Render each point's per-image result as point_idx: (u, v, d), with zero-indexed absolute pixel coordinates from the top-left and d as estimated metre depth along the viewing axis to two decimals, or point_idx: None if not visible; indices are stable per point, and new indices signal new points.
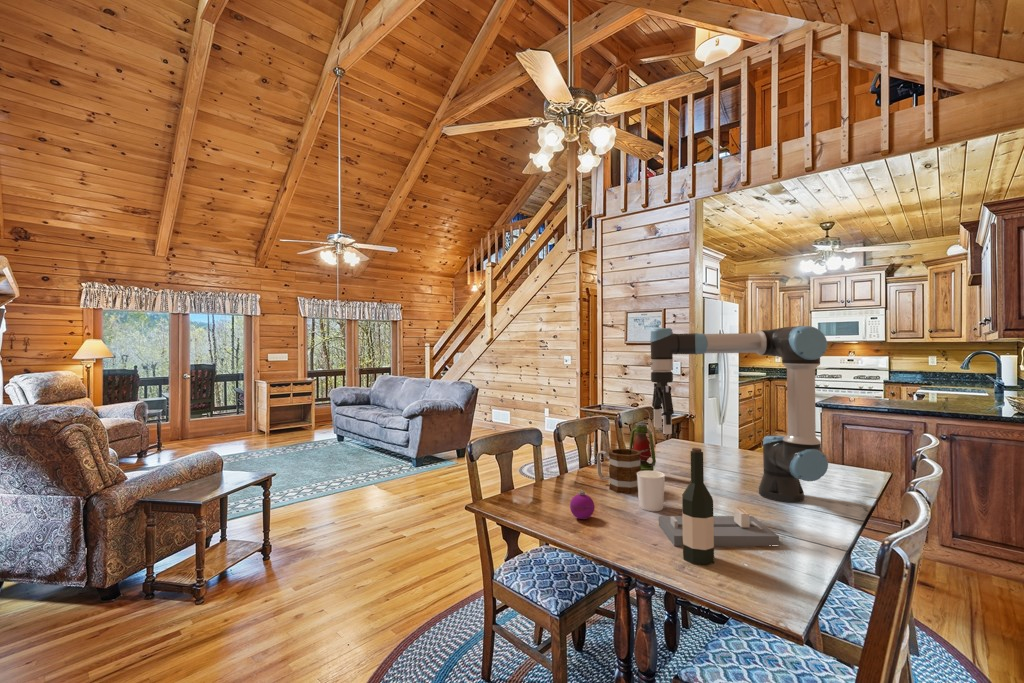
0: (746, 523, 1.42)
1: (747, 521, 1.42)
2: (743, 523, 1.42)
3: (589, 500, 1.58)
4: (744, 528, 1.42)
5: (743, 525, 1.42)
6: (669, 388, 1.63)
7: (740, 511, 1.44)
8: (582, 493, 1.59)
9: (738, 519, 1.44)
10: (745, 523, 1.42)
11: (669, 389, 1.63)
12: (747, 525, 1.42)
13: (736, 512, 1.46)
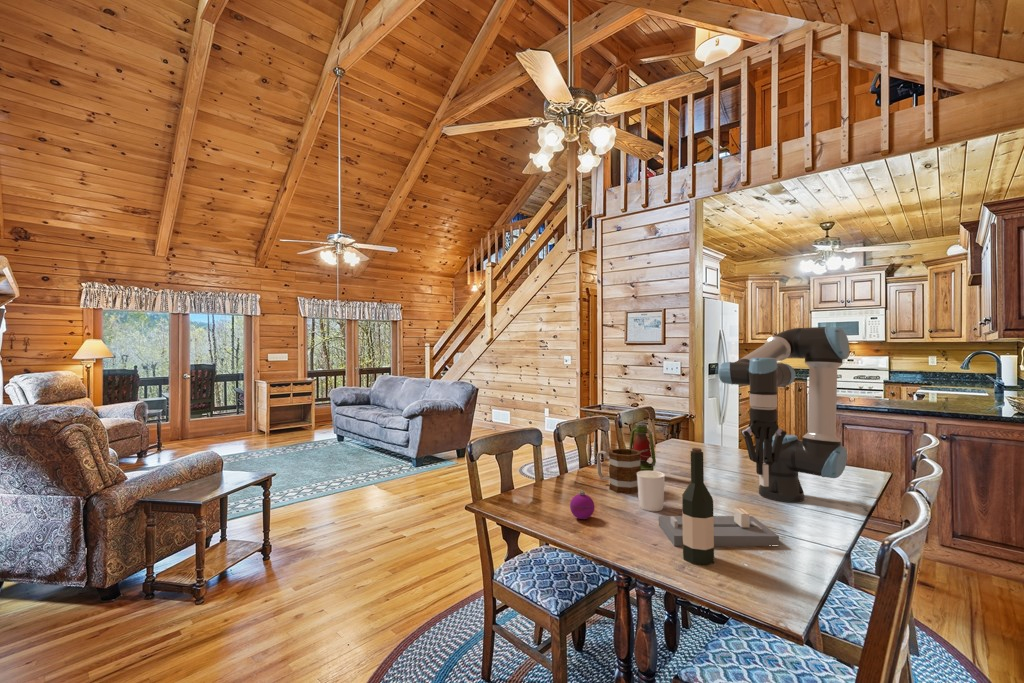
0: (746, 523, 1.42)
1: (747, 521, 1.42)
2: (743, 523, 1.42)
3: (589, 500, 1.58)
4: (744, 528, 1.42)
5: (743, 525, 1.42)
6: (744, 434, 1.44)
7: (740, 511, 1.44)
8: (582, 493, 1.59)
9: (738, 519, 1.44)
10: (745, 523, 1.42)
11: (745, 435, 1.44)
12: (747, 525, 1.42)
13: (736, 512, 1.46)
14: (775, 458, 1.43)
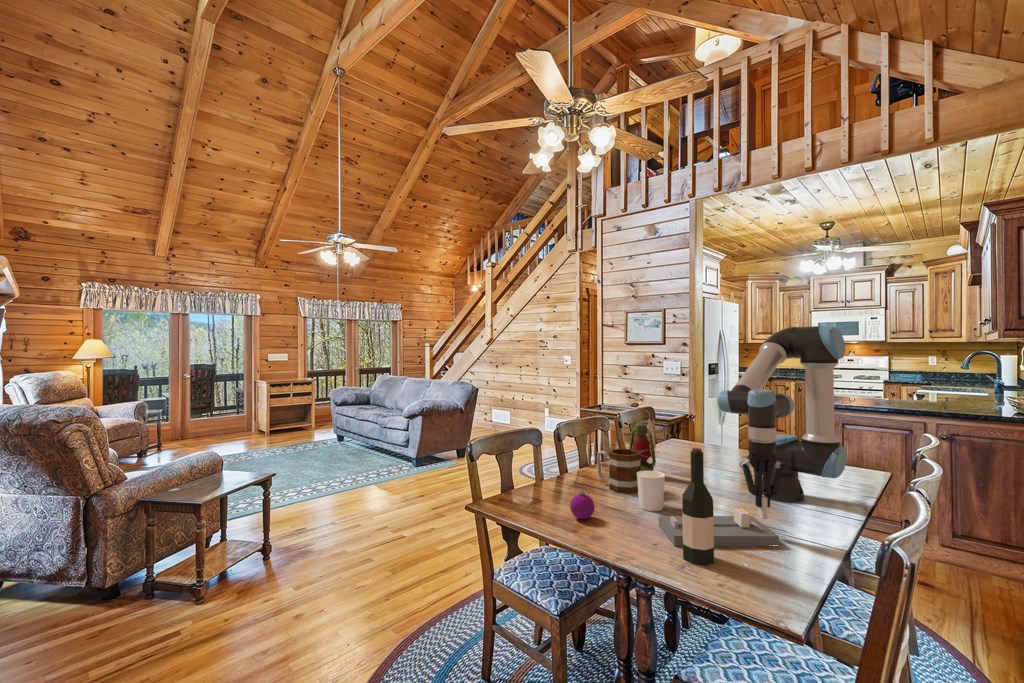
0: (746, 523, 1.42)
1: (747, 521, 1.42)
2: (743, 523, 1.42)
3: (589, 500, 1.58)
4: (744, 528, 1.42)
5: (743, 525, 1.42)
6: (743, 467, 1.44)
7: (740, 511, 1.44)
8: (582, 493, 1.59)
9: (738, 519, 1.44)
10: (745, 523, 1.42)
11: (744, 468, 1.44)
12: (747, 525, 1.42)
13: (736, 512, 1.46)
14: (774, 491, 1.43)
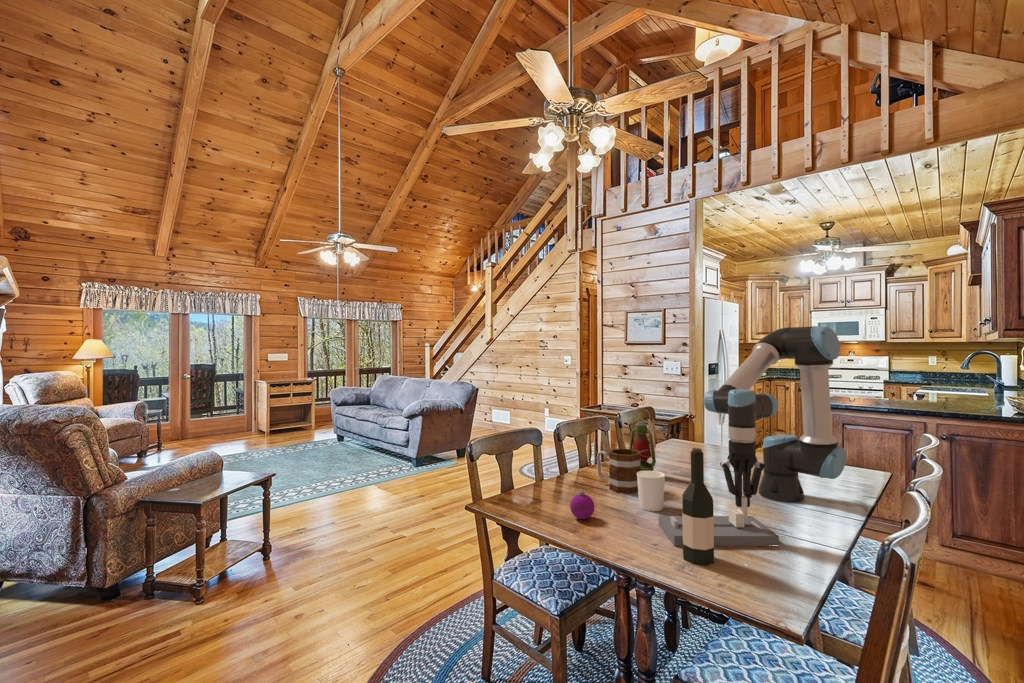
0: (741, 523, 1.42)
1: (742, 521, 1.42)
2: (738, 523, 1.42)
3: (589, 500, 1.58)
4: (744, 528, 1.42)
5: (738, 525, 1.42)
6: (723, 467, 1.44)
7: (735, 511, 1.45)
8: (582, 493, 1.59)
9: (733, 519, 1.44)
10: (739, 523, 1.42)
11: (724, 468, 1.44)
12: (742, 525, 1.42)
13: (731, 512, 1.46)
14: (754, 490, 1.44)
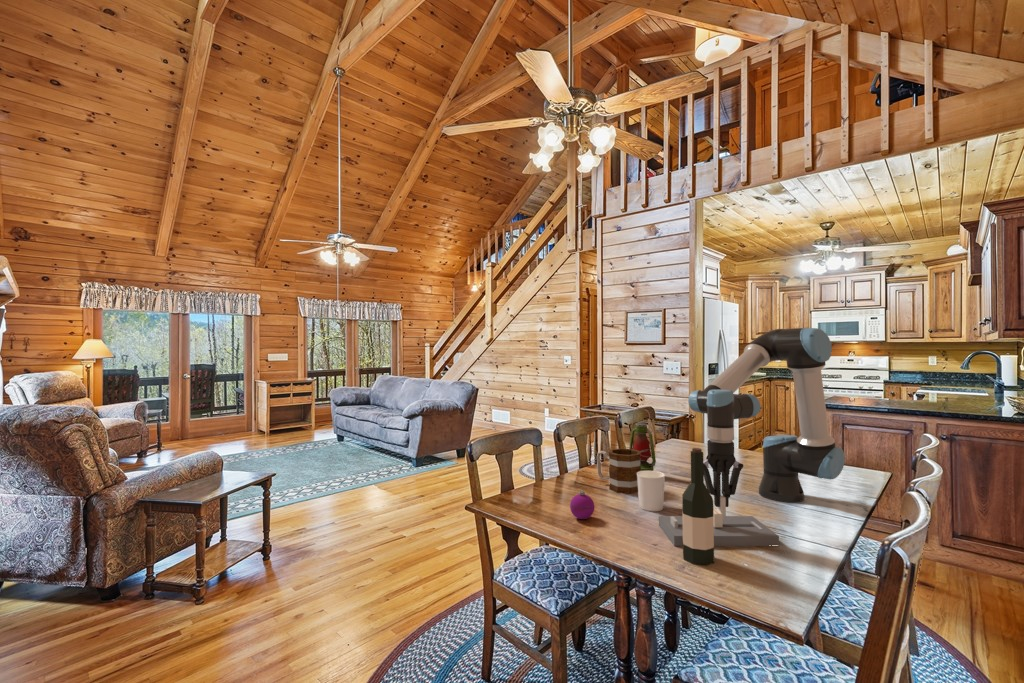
0: (719, 523, 1.43)
1: (720, 521, 1.43)
2: (716, 523, 1.43)
3: (589, 500, 1.58)
4: (744, 528, 1.42)
5: (716, 525, 1.43)
6: None
7: (713, 511, 1.45)
8: (582, 493, 1.59)
9: None
10: (718, 523, 1.43)
11: None
12: (720, 525, 1.43)
13: None
14: (732, 490, 1.44)
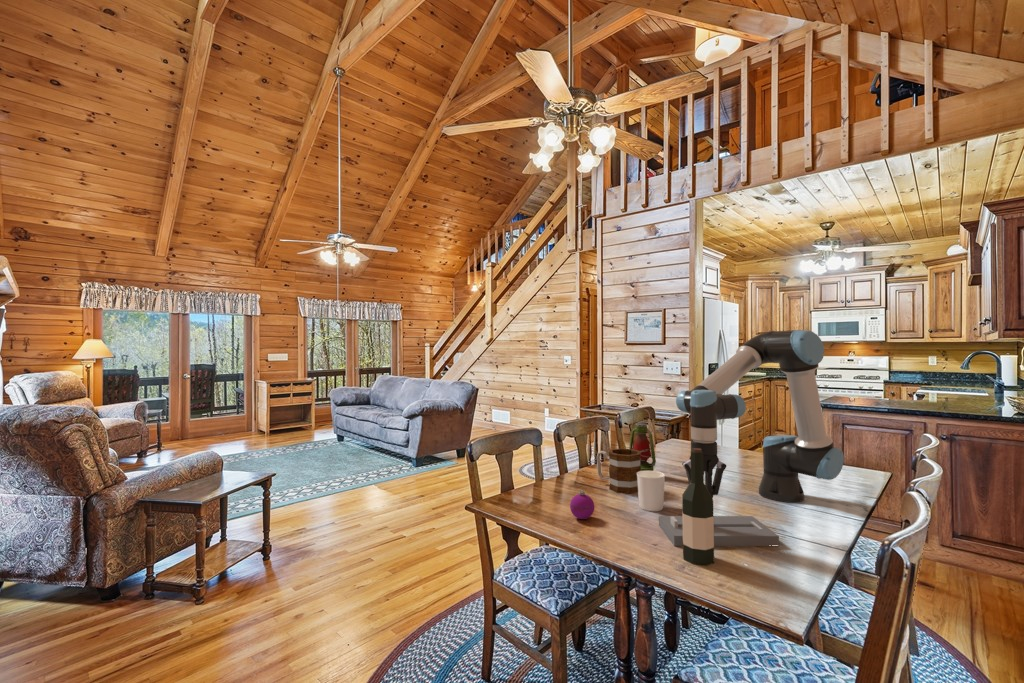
0: None
1: None
2: None
3: (589, 500, 1.58)
4: (744, 528, 1.42)
5: None
6: (685, 467, 1.45)
7: None
8: (582, 493, 1.59)
9: None
10: None
11: (685, 468, 1.45)
12: None
13: None
14: (715, 491, 1.44)
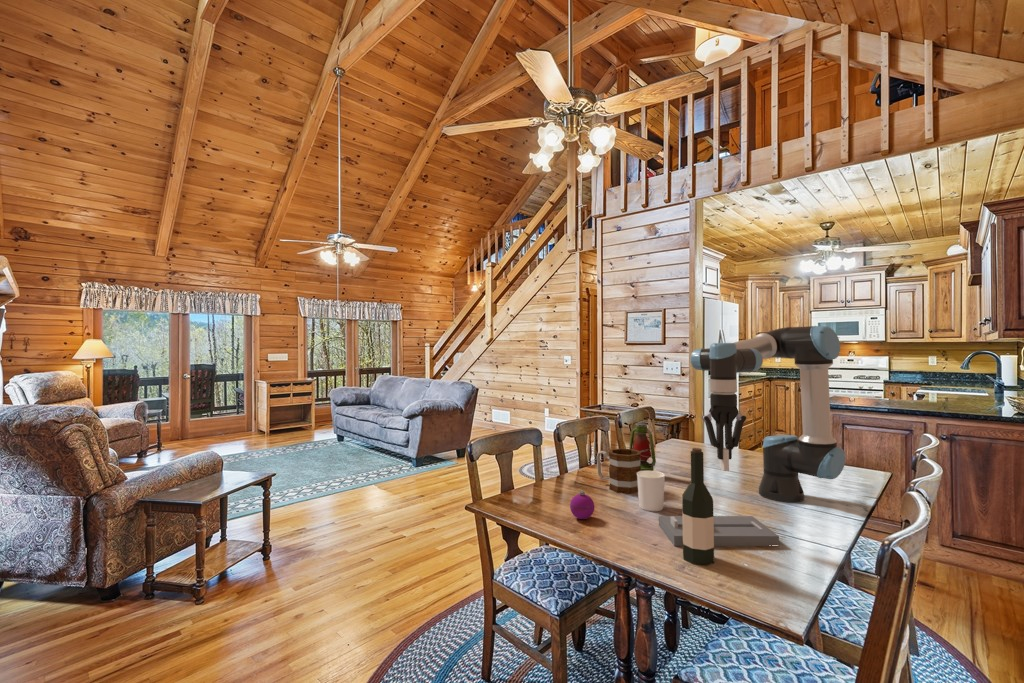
0: None
1: None
2: None
3: (589, 500, 1.58)
4: (744, 528, 1.42)
5: None
6: (705, 419, 1.45)
7: None
8: (582, 493, 1.59)
9: None
10: None
11: (705, 420, 1.45)
12: None
13: None
14: (735, 443, 1.44)
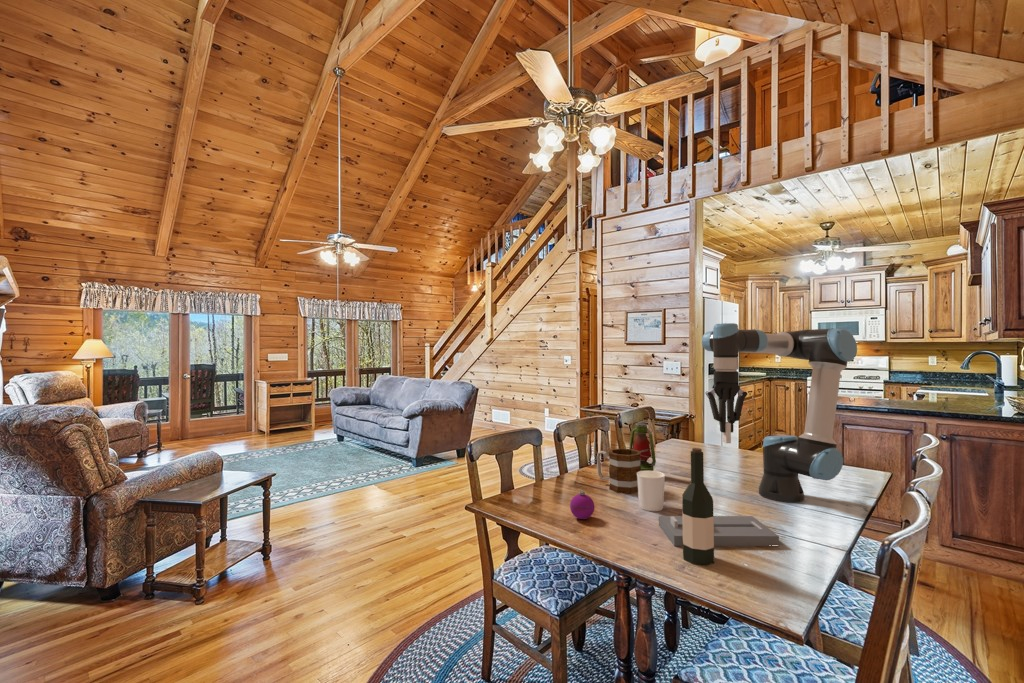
0: None
1: None
2: None
3: (589, 500, 1.58)
4: (744, 528, 1.42)
5: None
6: (708, 395, 1.54)
7: None
8: (582, 493, 1.59)
9: None
10: None
11: (709, 396, 1.54)
12: None
13: None
14: (737, 417, 1.54)
